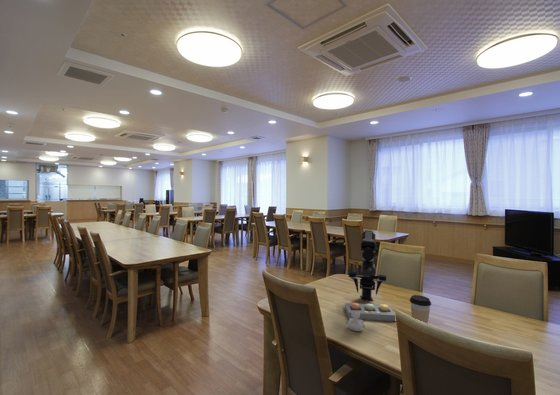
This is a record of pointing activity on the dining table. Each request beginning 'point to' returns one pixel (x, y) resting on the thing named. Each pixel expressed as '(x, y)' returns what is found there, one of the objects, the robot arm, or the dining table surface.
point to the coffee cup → (420, 307)
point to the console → (371, 313)
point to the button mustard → (384, 308)
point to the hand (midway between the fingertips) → (366, 293)
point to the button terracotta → (355, 306)
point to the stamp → (355, 321)
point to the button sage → (369, 307)
